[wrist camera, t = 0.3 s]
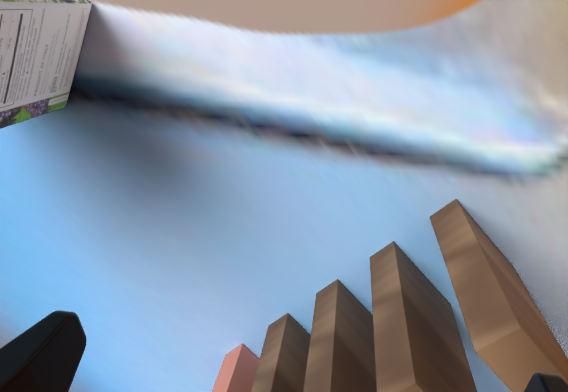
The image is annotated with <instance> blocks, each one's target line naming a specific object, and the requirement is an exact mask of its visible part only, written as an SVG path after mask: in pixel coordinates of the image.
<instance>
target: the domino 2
mask: <svg viewBox="0 0 568 392" xmlns="http://www.w3.org/2000/svg"><path fill="white" fill-rule="evenodd" d="M310 339H311V335H310V334H309V333H308V332H307V331H306V330H305V329H304V328H303V327H302V326H301V325H300V324H299V323H297V322H296V321H295V320H294V319H293V318H292V317H291V316H290V315H289V314H288V313H287V314H286V315H284V316H283V317H281V318H280V319H278V320H277V321H275V322H274V323H272V324H271V325H269V327H268V331H267V334H266V338H265V342H264V345H263V349H262V353H261V357H260V360H259V364H258V368H257V372H256V375H255V379H254V383H253V386H252V390H251V392H303V390H304V383H305V375H306V368H307V361H308V353H309V346H310Z"/></svg>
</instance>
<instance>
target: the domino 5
mask: <svg viewBox="0 0 568 392" xmlns="http://www.w3.org/2000/svg"><path fill="white" fill-rule="evenodd" d="M430 220H431V223H432V226H433V229H434V231H435V234H436V237H437V240H438V243H439V246H440V249H441V252H442V255H443V258H444V261H445V264H446V267H447V270H448V273H449V276H450V279H451V282H452V285H453V288H454V291H455V293H456V296H457V299H458V302H459V305H460V308H461V311H462V314H463V317H464V320H465V323H466V326H467V329H468V332H469V335H470V338H471V341H472V344H473V347H474V350H475V352H476V353H477V354H478V355H479V356H480V358H481V359H482V360H483V361H484V362H485V363H486V364H487V365H488V366H489V367H490V368H491V369H492V371H493V372H494V373H495V374H496V375H497V376H498V377H499V378H500V379H501V380H502V381H503V383H504V384H505V385H506V386H507V387H508V388H509V389H510V390H511V391H512V392H524V390H525V388H526V387H527V385H528V383H529V381H530V379H531V377H532V376H533V374H535V373H537V372H541V373H549V374H556V375H558V376H560V377H562V378H563V379H564V380H565V381H566V382H567V384H568V359H567V357H566V355H565V353H564V352H563V350H562V348H561V347H560V345H559V343H558V342H557V340H556V338H555V336H554V335H553V333H552V331H551V330H550V328H549V326H548V325H547V323H546V321H545V320H544V318H543V316H542V314H541V313H540V311H539V309H538V308H537V306H536V304H535V303H534V301H533V299H532V297H531V296H530V294H529V292H528V291H527V289H526V287H525V286H524V284H523V282H522V280H521V279H520V277H519V275H518V274H517V272H516V270H515V269H514V267H513V266H512V264H511V263H510V262H509V261H508V260H507V258H506V257H505V256H504V255H503V254H502V253H501V251H500V250H499V249H498V248H497V247H496V245H495V244H494V243H493V242H492V241H491V240H490V238H489V237H488V236H487V235H486V234H485V232H484V231H483V230H482V229H481V228H480V227H479V225H478V224H477V223H476V222H475V221H474V219H473V218H472V217H471V216H470V215H469V214H468V212H467V211H466V210H465V209H464V208H463V206H462V205H461V204H460V203H459V202H458V201H457V199H455V200H454V201H452V202H451V203H449V204H448V205H446V206H445V207H444V208H442V209H441V210H439V211H438V212H436V213H435V214H433V215H432V216H430Z"/></svg>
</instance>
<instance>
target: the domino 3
mask: <svg viewBox="0 0 568 392" xmlns="http://www.w3.org/2000/svg"><path fill="white" fill-rule="evenodd" d="M303 392H377V382H376V363H375V344H374V325H373V315H372V314H371V313H370V312H369V311H368V310H367V309H366V308H365V307H364V306H363V305H362V304H361V303H360V302H359V301H358V300H357V299H356V297H355V296H354V295H353V294H352V293H351V292H350V291H349V290H348V289H347V288H346V287H345V286H344V285H343V284H342V283H341V282H340V281H339V280H338V279H337V280H336V281H334V282H333V283H331V284H330V285H328V286H327V287H325V288H324V289H322V290H321V291H319V292H318V293H317V294H316V302H315V309H314V316H313V324H312V331H311V339H310V346H309V353H308V361H307V368H306V375H305V383H304V390H303Z"/></svg>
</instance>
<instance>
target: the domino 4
mask: <svg viewBox="0 0 568 392" xmlns="http://www.w3.org/2000/svg"><path fill="white" fill-rule="evenodd" d="M370 268H371V287H372V306H373V325H374V344H375V363H376V382H377V392H477V390H476V387H475V383H474V380H473V377H472V374H471V371H470V367H469V364H468V361H467V358H466V354H465V351H464V348H463V345H462V341H461V338H460V335H459V332H458V328H457V325H456V322H455V319H454V315H453V312H452V309H451V306H450V303H449V302H448V301H447V300H446V299H445V298H444V296H443V295H442V294H441V293H440V292H439V291H438V290H437V289H436V288H435V286H434V285H433V284H432V283H431V282H430V281H429V280H428V279H427V278H426V277H425V275H424V274H423V273H422V272H421V271H420V270H419V269H418V268H417V267H416V266H415V264H414V263H413V262H412V261H411V260H410V259H409V258H408V257H407V256H406V254H405V253H404V252H403V251H402V250H401V249H400V248H399V247H398V246H397V245H396V243H395V242H394V241H393V242H392V243H390V244H389V245H387V246H386V247H384V248H383V249H381V250H380V251H379V252H377V253H376V254H374V255H373V256H371V257H370Z"/></svg>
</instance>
